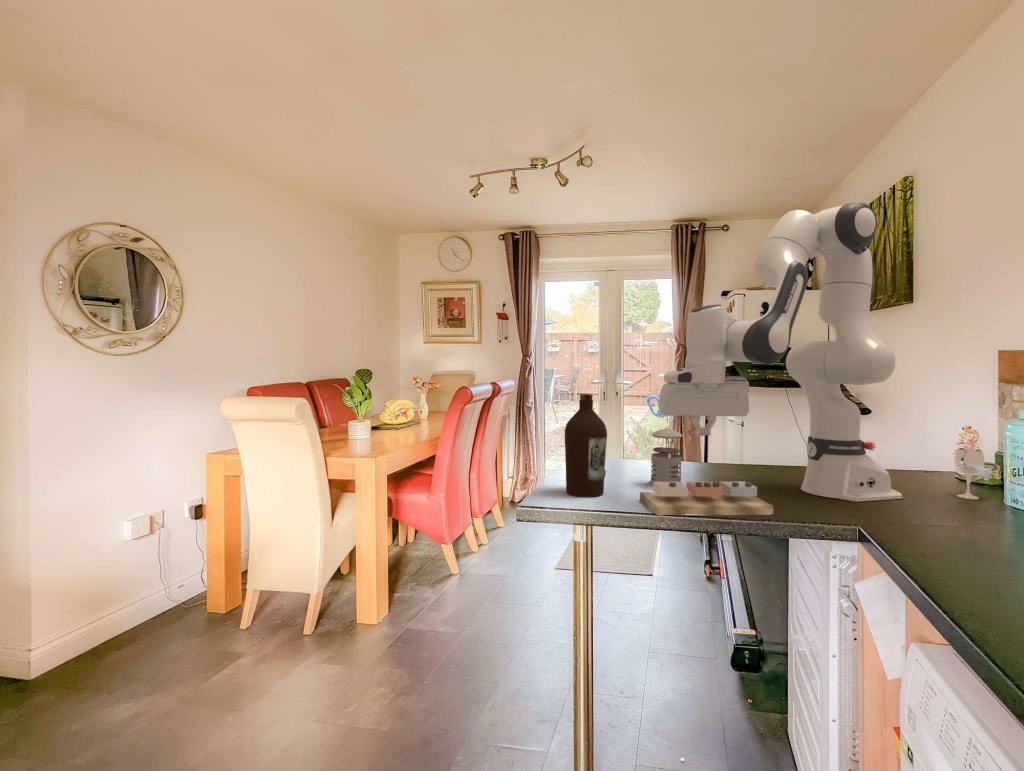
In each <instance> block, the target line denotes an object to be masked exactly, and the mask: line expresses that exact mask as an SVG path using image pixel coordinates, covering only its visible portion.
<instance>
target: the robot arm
mask: <svg viewBox="0 0 1024 771" xmlns="http://www.w3.org/2000/svg"><path fill="white" fill-rule="evenodd" d="M877 228H878V219H877V215H876V213H875V211H874V210H873V208H871V206H870V205H869V204H867V203H865V202H849V203H846V204H843V205H840V206H834V207H829V208H827V209H826V208H825V209H823V210H821V211H819V212H817V213H814V214H813V213H811V212H809V211H807V210H803V209H794V210H791V211H790V210H789V211H788V212H785V213H784V215H783V216H782V217H780V219H779V220H778V221H777V222H776V224H775V225H774V226H773V227H772V229H771V230H770V231H769V233H768V234H767V235H766V238H764V241H763V242H762V244H761V246H760V248H759V249H758V252H757V253H756V256H755V259H754V265H753V267H754V270H755V272H756V273H755V274H756V275H757V277H758V278H759V279H760V280H761V281H762V282H763V283H765V284H766V285H768V286H770V287H772V288H774V289H775V291H774V294H773V296H772V298H771V302H770V303H769V304H770V305H769V306H768V310H767V312H766V313H764V314H763V315H762V316H760V317H758V318H753V319H747V320H746V319H745V320H740V319H739V318H736V317H734V316H733V315H731V314H730V313H729V312H728V311H727V310H726V307H725V306H724V305H723V304H709V305H702V306H698V307H694V308H693V309H691V310H690V312H689V314H688V318H687V321H686V328H685V347H686V357H685V361H684V367H682V368H678V369H675V370H673V371H670V372H669V371H668V372H666V373H664V375H663V380H664V382H665V383H664V384H663V385H662V386H661V388H660V394H659V401H658V411H659V413H660V414H661V415H663V416H666V417H667V416H669V417H672V416H673V417H674V416H677V417H678V416H679V417H682V416H683V417H690V420H691V423H692V424H693V426H694V428H695V432H694V433H695V436H699V437H700V436H705V437H706V436H711V434H712V433H711V432H712V428H713V426H714V425H715V423H716V422H717V417H746V416H747V415H748V414H749V412H750V401H749V400H750V399H749V394H748V393H749V390H750V383H749V381H748V380H747V378H745V377H744V376H742V375H736V376H734V375H726V369H727V368H726V365H727V364H726V362H738V363H755V364H763V365H772V364H776V363H777V362H778V361H779V362H780V360H781V359H782V358H783V357H784V356H785V355H786V354H787V356H786V359H785V366H786V367H785V368H786V370H787V372H788V374H789V376H791V378H793V379H794V380H795V381H796V382H797V383H798V384H799V386H800V387H801V388H802V390H803V392H804V394H805V396H806V398H807V401H808V408H809V436H807V449H806V451H807V464H806V470H805V475H804V477H803V481H802V484H801V487H800V490H801V491H803V492H804V493H807V494H812V495H814V496H820V497H824V498H826V497H827V498H832V499H839V500H845V501H849V502H871V501H885V500H886V501H887V500H898V499H899V500H901V499H903V494H902V493H901V492H899V491H897V490H895V489H892V480H891V476H890V473H889V472H888V471H887V469H885V468H884V467H883V466H882V465H880V464H879V463H877V462H876V461H875V460H874V459H873V458H871V457H870V456H868V455H867V452H866V450H869V451H874V450H875V449H876V447H877V446H876V444H875V443H874V442H871V441H868V440H867V441H863V440H862V439H860V436H861V435H860V434H861V433H860V431H861V410H860V409H859V407H858V405H857V404H856V403H854V402H853V401H852V400H850V399H848V398H847V397H846V396H845V395H844V394H843V391H842V389H841V385H856V386H865V385H872V384H878V383H879V384H880V383H884V382H885V381H887V380H888V379H889V378H890V377H891V375H892V374H893V373H894V370H895V367H896V358H895V354H894V351H893V350H892V348H891V347H890V346H889V345H888V344H887V343H886V342H884V341H882V339H880V338H879V337H878V335H877V334H876V332H875V331H874V329H873V326H872V322H871V314H870V313H871V311H870V310H871V299H872V298H871V295H872V287H873V274H874V273H873V272H874V271H873V258H872V252H871V250H870V249H869V248H870V246H871V245H872V242H873V239H874V238H875V235H876V232H877ZM819 257H823V258H824V262H825V267H824V272H823V276H822V281H821V287H820V294H819V295H820V297H819V303H818V304H819V305H818V315H819V318H820V320H821V321H822V322H823V323H825V324H826V325H828V326H829V327H832V328H833V329H834V331H835V336H836V337H835V340H818V341H817V340H816V341H814V340H813V341H808V342H803V343H799V344H796V345H794V346H792V347H791V349H790V350H789V351H788V349H789V347H790V343H791V336H792V330H793V326H794V323H795V320H796V317H797V315H798V311H799V309H800V307H801V303H802V301H803V298H804V295H805V292H806V290H807V289H806V288H807V286H808V280H809V271H808V269H807V267H806V265H807V263H808V260H809V259H812V258H819ZM787 351H788V352H787ZM701 417H706V420H707V423H706V425H705V426H704V427H703V426H701V425H700V423H699V421H701Z"/></svg>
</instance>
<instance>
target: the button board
mask: <svg viewBox="0 0 1024 771" xmlns="http://www.w3.org/2000/svg"><path fill="white" fill-rule="evenodd" d="M639 501H640V502H641V501H642V502H643V503H644V504H643V505H645V506H646V508H648V509H649V508H650V509H651V510H652V511H653V512H654V513H655V516H660V517H661V516H663V515H678V516H686V515H685V514H709V515H708V516H772V515H771V514H773V515H774V505H773V504H770V503H768V501H765V500H762V499H761V498H759V497H757V496H730V495H728V494H726V493H724V492H723V491H722V496H695V495H693V494H692V493H690V492H689V491H687V496H676V497H661V496H660V495H658V494H657V493H656V492H655V491H640V493H639ZM642 502H641V503H642ZM650 509H649V510H650ZM651 510H650V511H651ZM652 511H651V512H652ZM653 512H652V513H653ZM654 513H653V514H654ZM682 514H683V515H682ZM710 514H711V515H710ZM717 514H718V515H717Z"/></svg>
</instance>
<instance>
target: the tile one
mask: <svg viewBox="0 0 1024 771" xmlns="http://www.w3.org/2000/svg"><path fill="white" fill-rule="evenodd" d="M681 483H682V482H681ZM681 483H680V482H653V487H652V492H656V493H657V494H658V495H660V496H661V497H676V496H687V492H689V491H688V488H687V487H686V485H684V484H683V483H682V484H681Z"/></svg>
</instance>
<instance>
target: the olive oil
mask: <svg viewBox="0 0 1024 771" xmlns="http://www.w3.org/2000/svg"><path fill="white" fill-rule="evenodd" d="M593 397H594V396H593V394H591V393H580V394H579V400H578V401H579V402H578V403H579V404H578V406H579V408H578V410H577V412H575V413H574V414H573V416H572V417H571V418H570V419H569V420H568V421H567V423H566V425H565V427H564V450H565V451H564V452H565V453H564V454H565V456H564V458H565V459H564V460H565V492H566V493H567V494H568V495H570V496H575V497H579V498H580V497H581V498H595V497H600V496H602V495H604V489H605V488H604V487H605V477H606V474H607V473H606V472H607V471H606V456H607V441H608V431H607V428H606V427H607V426H606V424H605V423H604V421H603V420H602V418H600V416H599V415H598V414H597V413H596V412H595V410H594V408H593V407H594V406H593V405H594V400H593Z"/></svg>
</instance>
